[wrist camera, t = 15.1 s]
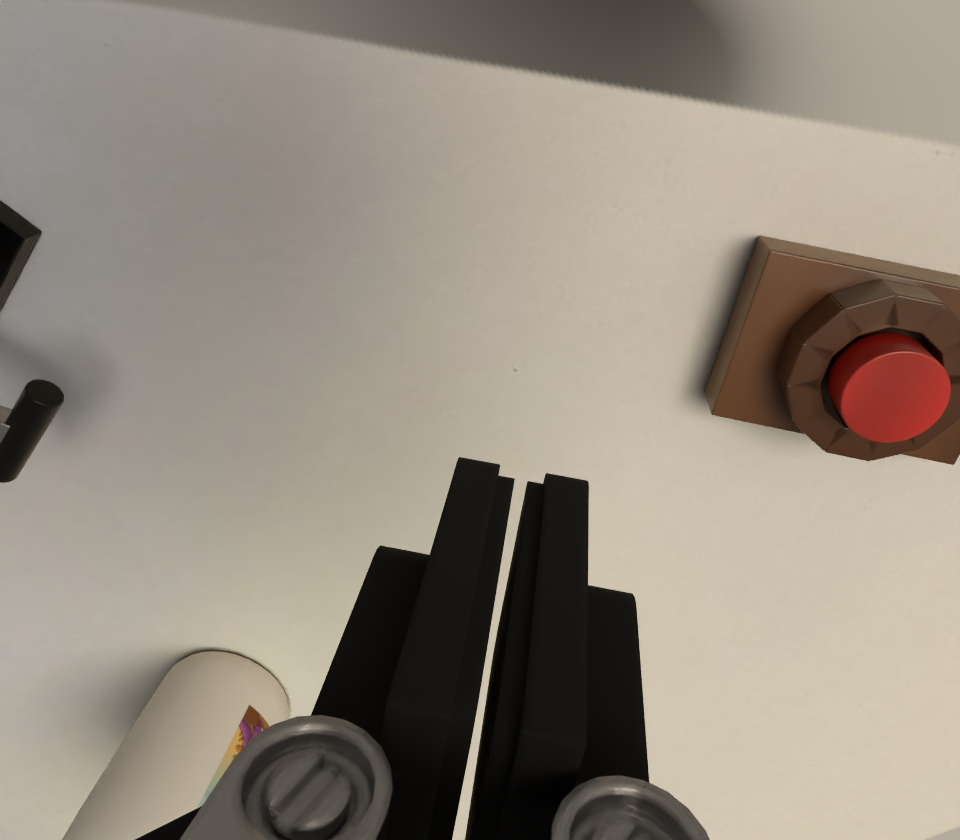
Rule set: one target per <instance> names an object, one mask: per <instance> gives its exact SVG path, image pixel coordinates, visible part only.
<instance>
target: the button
mask: <svg viewBox="0 0 960 840" xmlns="http://www.w3.org/2000/svg"><path fill="white" fill-rule="evenodd" d="M828 392H829V396H830V398H831V401H832V403H833V404H834V406H835V407H836V409H837V410H838V412H839V414H840V415H841V417H842V418H843V420H844V421H845V423H846V424H847V426H848V427H849V428H850V429H851V430H852V431H853V432H854V433H856V434H857V435H859V436H860V437H862V438H865V439H867V440H871V441H875V442H883V443H890V442H898V441H903V440H907V439H910V438H912V437H915V436H917V435H919V434H921V433H922V432H924V431H925V430H927V429H928V428H930V427H931V426H932V425H933V424H934V423H935V422H936V421H937V420H938V419H939V418H940V417H941V415H942V414H943V412H944V411H945V409H946V407H947V404H948V402H949V398H950V392H951V385H950V379H949V376H948V374H947V372H946V370H945V368H944V367H943V366H942V365H941V364H940V362H939V361H938V360H936V359H935V358H934V357H933V356H932V355H931V354H930V353H929V352H928V351H927V350H926V349H925V348H924V347H923V346H922V345H921V344H920V343H919V342H917V341H916V340H914V339H912V338H910V337H908V336H905V335H901V334H895V333H883V334H876V335H872V336H869V337H865V338H863V339H861V340H859V341H857V342H855V343H854V344H852V345H851V346H849V347H848V348H847V349H846V350H844V351H843V352H842V353H841V355H840V356H839V357H838V358H837V360H836V361H835V363H834V364H833V366H832V368H831V371H830V374H829V378H828Z"/></svg>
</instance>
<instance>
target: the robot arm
mask: <svg viewBox="0 0 960 840" xmlns="http://www.w3.org/2000/svg"><path fill="white" fill-rule="evenodd" d="M499 468H500V465H499V464H494V463H488V462H483V461H477V460H472V459H467V458H461V457H459V458H458V461H457V464H456V468H455V471H454V474H453V478H452V481H451V485H450V488H449V491H448V495H447V498H446V502H445V505H444V508H443V512H442V515H441V519H440V522H439V525H438V529H437V532H436V536H435V539H434V543H433V546H432V549H431V553H430V555H427V554H422V553H417V552H411V551H406V550H401V549H396V548H390V547H385V546H379V547H378V549H377V550H376V553H375V555H374V557H373V559H372V562H371V564H370V567H369V570H368V572H367V575H366V577H365V580H364V582H363V585H362V587H361V590H360V592H359V595H358V597H357V600H356V603H355V605H354V608H353V610H352V613H351V615H350V618H349V620H348V623H347V625H346V628H345V630H344V633H343V636H342V638H341V641H340V643H339V646H338V648H337V651H336V653H335V656H334V658H333V661H332V663H331V666H330V669H329V671H328V674H327V676H326V679H325V681H324V684H323V686H322V689H321V691H320V694H319V696H318V699H317V702H316V704H315V707H314V709H313V712H312V714H311V716H300V717H294V718H291V719H288V720H285V721H282V722H279V723H276V724H273V725H272V726H270V727H268V728H267V729H265V730H264V731H262V732H261V733H259V734H257V735H256V736H254V737H253V738H251V740H250V741H249V742H248V743H247V744H246V745H245V746H244V747H243V748H242V750H241V751H240V752H239V753H238V754H237V755H236V756H235V757H234V759H233V760H232V762H231V763H230V765H229V766H228V768H227V769H226V771H225V772H224V774H223V775H222V777H221V778H220V780H219V781H218V783H217V784H216V786H215V787H214V789H213V790H212V792H211V793H210V795H209V796H208V798H207V799H206V801H205V802H204V804H203V805H202V806H201V807H199V808H197V809H195V810H193V811H191V812H189V813H187V814H185V815H183V816H181V817H179V818H177V819H175V820H173V821H171V822H169V823H167V824H165V825H163V826H161V827H159V828H157V829H155V830H153V831H151V832H149V833H147V834H145V835H143V836H141V837H139V838H137V839H135V840H452V836H453V831H454V826H455V821H456V816H457V811H458V806H459V800H460V795H461V790H462V785H463V780H464V775H465V770H466V765H467V759H468V754H469V749H470V744H471V739H472V733H473V728H474V722H475V717H476V711H477V705H478V700H479V694H480V687H481V681H482V675H483V669H484V663H485V657H486V651H487V645H488V638H489V632H490V626H491V620H492V614H493V608H494V602H495V595H496V589H497V583H498V577H499V571H500V565H501V559H502V552H503V546H504V540H505V534H506V528H507V522H508V516H509V510H510V503H511V497H512V491H513V485H514V479H513V478H508V477H502V476H498V474H499ZM588 497H589V485H588V481H586V480H580V479H575V478H569V477H564V476H559V475H553V474H548V473H546V475H545V478H544V483H543V484H540V483H535V482H529V481H528V482H527V486H526V491H525V496H524V501H523V506H522V511H521V516H520V521H519V526H518V531H517V536H516V541H515V546H514V551H513V556H512V561H511V566H510V571H509V576H508V581H507V586H506V591H505V596H504V601H503V606H502V611H501V616H500V621H499V626H498V631H497V637H496V642H495V648H494V654H493V660H492V666H491V673H490V679H489V686H488V692H487V699H486V706H485V712H484V719H483V725H482V732H481V739H480V745H479V752H478V758H477V765H476V772H475V778H474V785H473V791H472V798H471V805H470V811H469V818H468V824H467V831H466V837H465V840H709V837H708V835H707V833H706V831H705V829H704V828H703V827H702V826H701V824H700V823H699V822H698V820H697V819H696V818H695V817H694V815H693V814H692V813H691V811H690V810H689V809H688V808H687V807H686V806H684V805H683V804H682V803H681V802H679V801H678V800H677V799H676V798H674V797H673V796H672V795H671V794H670V793H668V792H667V791H665V790H663V789H661V788H659V787H657V786H655V785H653V784H651V783H649V775H648V761H647V747H646V733H645V720H644V706H643V692H642V678H641V665H640V651H639V637H638V623H637V610H636V602H635V597H634V596H633V594H631V593H626V592H621V591H615V590H610V589H605V588H600V587H594V586H589V585H588Z"/></svg>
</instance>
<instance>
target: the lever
mask: <svg viewBox="0 0 960 840" xmlns="http://www.w3.org/2000/svg"><path fill="white" fill-rule="evenodd" d="M63 401H64V394H63V392H62V390H61V389H60V388H59V387H58V386H56V385H55V384H53V383H51V382H49V381H46V380H33V381H30V382H29V383H28V384H27V385H26V386H25V388H24V390H23V392H22V393H21V395H20V397H19V399H18V400H17V402H16V404H15V406H14V407H13V409H9V408H7V407H4V406H1V405H0V482H2V483H5V482H10V481H12V480H14V479H16V478H17V476H18V475H19V473H20V471H21V470H22V468H23V467H24V465H25V463H26V462H27V460H28V458H29V457H30V455H31V454H32V452H33V450H34V449H35V447H36V445H37V444H38V442H39V441H40V439H41V437H42V436H43V434H44V432H45V431H46V429H47V428H48V426H49V424H50V423H51V421H52V419H53V418H54V416H55V415H56V413H57V411H58V410H59V408H60V406H61V405H62V403H63Z"/></svg>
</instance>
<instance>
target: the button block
mask: <svg viewBox="0 0 960 840" xmlns="http://www.w3.org/2000/svg"><path fill="white" fill-rule="evenodd" d="M883 333H895V334H901V335H905V336H908V337H910V338H912V339H914V340H916V341H917V342H919V343H920V344H921V345H922V346H923V347H924V348H925V349H926V350H927V351H928V352H929V353H930V354H931V355H932V356H933V357H934V358H935V359H936V360H938V361H939V362H940V364H941V365H942V366H943V367H944V368H945V370H946V372H947V374H948V376H949V379H950V385H951V392H950V398H949V402H948V404H947V407H946V409H945V411H944V412H943V414H942V415H941V417H940V418H939V419H938V420H937V421H936V422H935V423H934V424H933V425H932V426H931V427H930V428H928V429H927V430H925V431H924V432H922V433H921V434H919V435H917V436H915V437H912V438H910V439H907V440H903V441H898V442H890V443H883V442H875V441H871V440H867V439H865V438H862V437H860V436H859V435H857V434H856V433H854V432H853V431H852V430H851V429H850V428H849V427H848V426H847V424H846V423H845V421H844V420H843V418H842V417H841V415H840V414H839V412H838V410H837V409H836V407H835V406H834V404H833V403H832V401H831V398H830V396H829V392H828V378H829V374H830V371H831V368H832V366H833V364H834V363H835V361H836V360H837V358H838V357H839V356H840V355H841V353H842V352H843V351H844V350H846V349H847V348H848V347H849V346H851V345H852V344H854V343H855V342H857V341H859V340H861V339H863V338H865V337H869V336H872V335H876V334H883ZM705 394H706V397H707V401H708V404H709V407H710V410H711V413H712V415H716V416H721V417H726V418H731V419H735V420H740V421H745V422H750V423H755V424H759V425H764V426H769V427H774V428H779V429H783V430H788V431H793V432H798V433H803V434H806V435H807V436H808V437H809V438H810V439H811V440H812V441H814V442H815V443H816V444H817V445H818V446H819V447H820V448H821V449H822V450H824V451H825V452H827V453H832V454H837V455H842V456H846V457H851V458H856V459H861V460H866V461H870V460H876V459H881V458H885V457H889V456H894V455H898V454H904V455H908V456H913V457H918V458H923V459H928V460H932V461H937V462H942V463H947V464H952V465H954V464H955V462H956V460H957V458H958V456H959V455H960V276H958V275H953V274H948V273H943V272H938V271H933V270H928V269H923V268H918V267H913V266H908V265H903V264H898V263H893V262H888V261H883V260H878V259H873V258H868V257H864V256H859V255H854V254H849V253H844V252H839V251H834V250H829V249H824V248H819V247H814V246H809V245H804V244H799V243H794V242H789V241H784V240H779V239H774V238H769V237H764V236H759V237H758V239H757V242H756V245H755V248H754V251H753V254H752V257H751V260H750V262H749V265H748V268H747V271H746V274H745V277H744V280H743V283H742V286H741V289H740V291H739V294H738V297H737V300H736V303H735V306H734V309H733V312H732V315H731V318H730V320H729V323H728V326H727V329H726V332H725V335H724V338H723V341H722V344H721V347H720V349H719V352H718V355H717V358H716V361H715V364H714V367H713V370H712V373H711V376H710V378H709V381H708V384H707V387H706V390H705Z"/></svg>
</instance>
